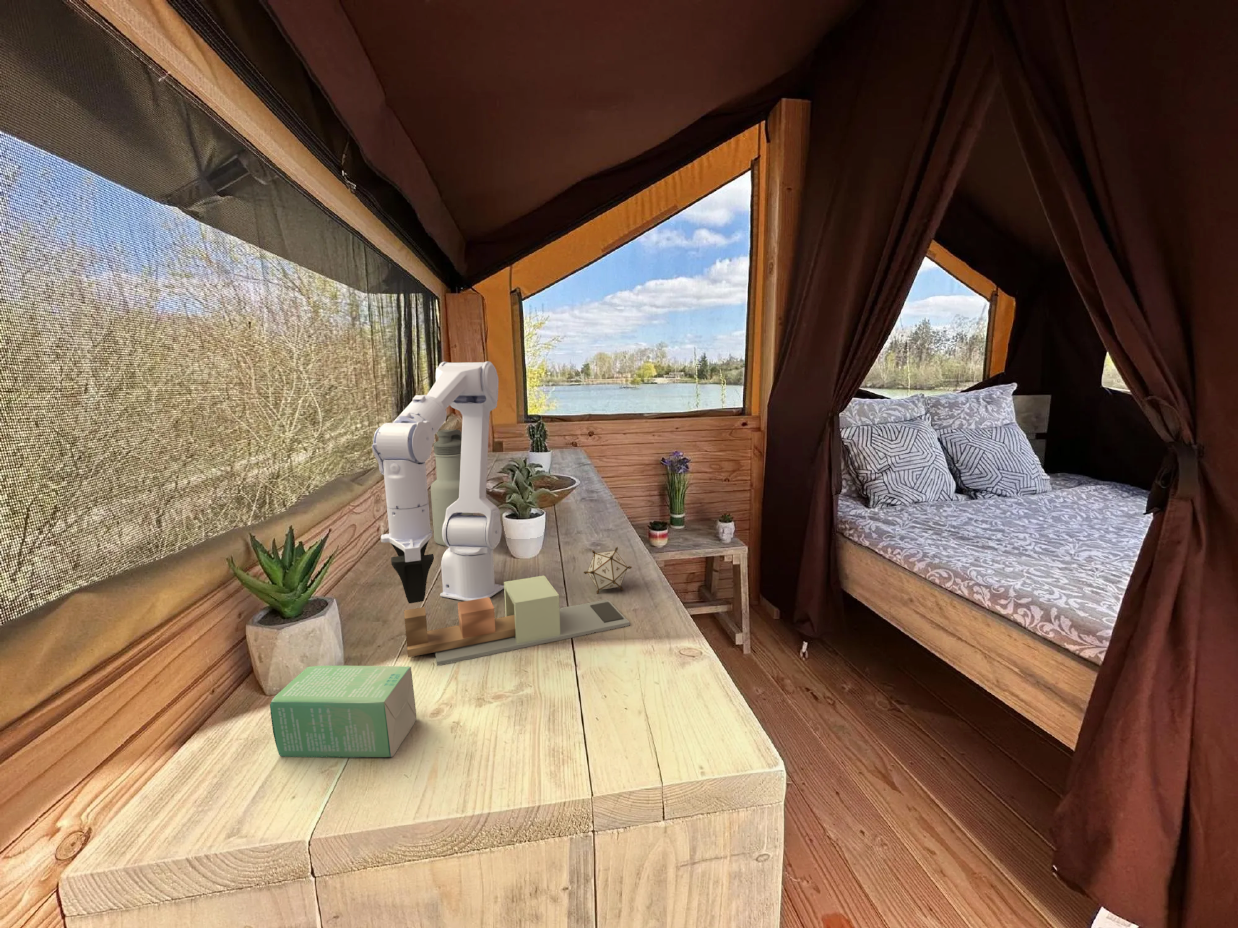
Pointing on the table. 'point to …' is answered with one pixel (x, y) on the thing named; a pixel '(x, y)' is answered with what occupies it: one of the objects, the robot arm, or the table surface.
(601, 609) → the pit
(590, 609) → the track board
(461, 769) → the table surface
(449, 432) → the water bottle
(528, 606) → the tunnel
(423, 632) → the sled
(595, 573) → the game die
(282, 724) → the box
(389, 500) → the robot arm
